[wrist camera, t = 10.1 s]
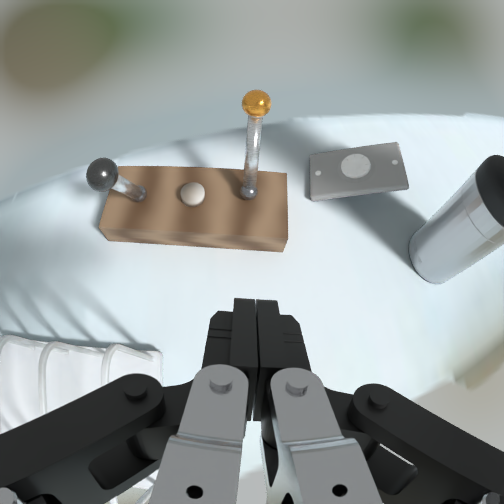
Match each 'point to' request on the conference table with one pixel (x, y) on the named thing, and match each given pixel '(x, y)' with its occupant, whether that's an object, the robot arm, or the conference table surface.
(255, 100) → the lever orange
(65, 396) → the file sorter
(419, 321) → the conference table surface
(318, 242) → the conference table surface
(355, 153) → the light switch
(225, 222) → the switch panel
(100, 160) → the lever black
